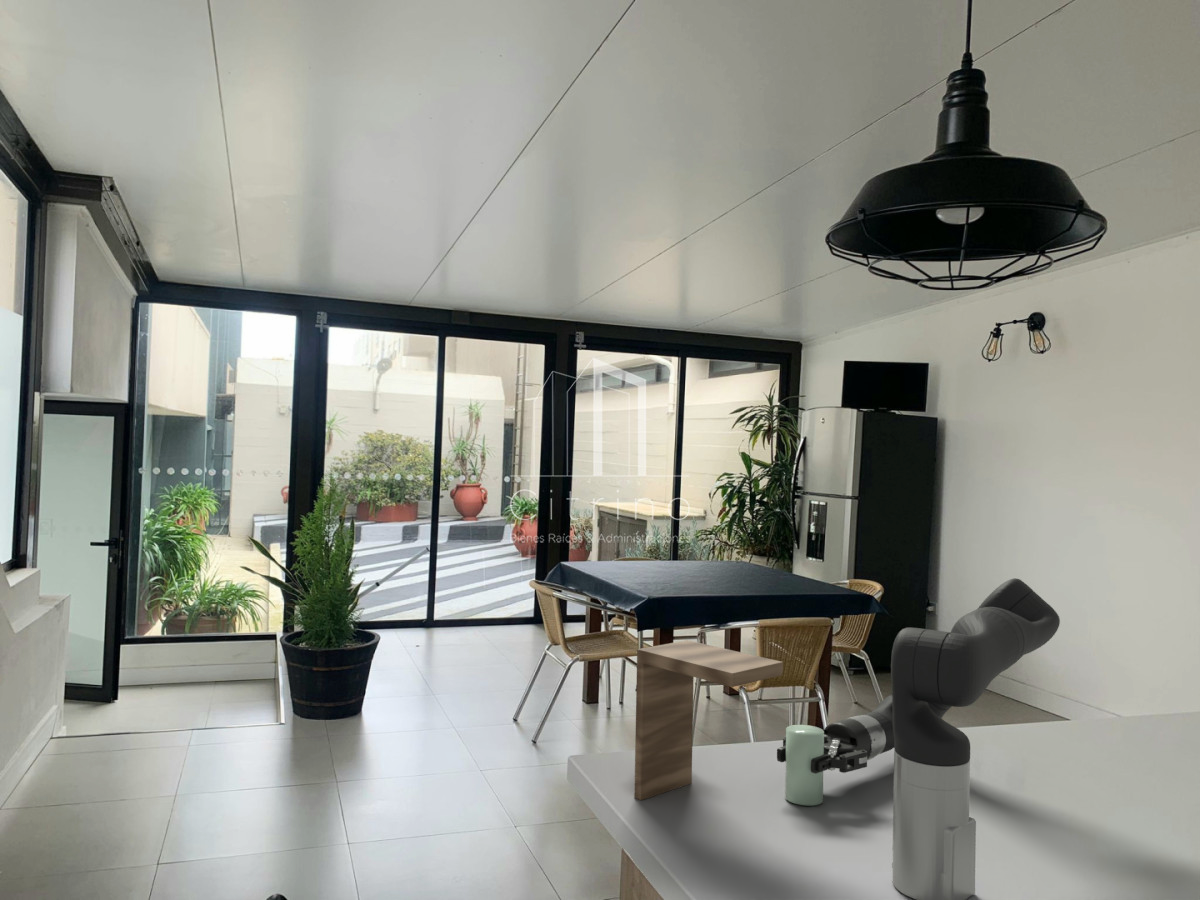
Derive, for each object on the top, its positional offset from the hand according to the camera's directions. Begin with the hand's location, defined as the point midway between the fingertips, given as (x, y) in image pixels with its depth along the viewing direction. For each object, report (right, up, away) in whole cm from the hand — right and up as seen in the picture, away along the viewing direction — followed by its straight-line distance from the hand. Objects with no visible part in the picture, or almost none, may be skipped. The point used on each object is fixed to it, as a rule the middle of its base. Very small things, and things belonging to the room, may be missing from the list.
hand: (795, 761), depth 141 cm
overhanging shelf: (-15, -7, -2) cm, 16 cm away
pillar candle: (+2, -7, +2) cm, 7 cm away
